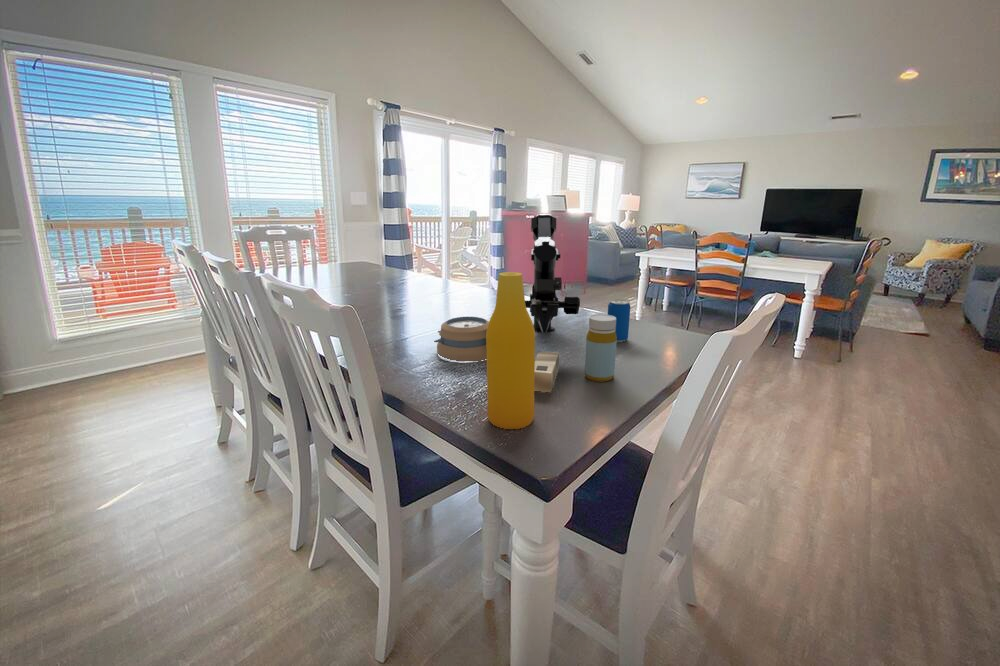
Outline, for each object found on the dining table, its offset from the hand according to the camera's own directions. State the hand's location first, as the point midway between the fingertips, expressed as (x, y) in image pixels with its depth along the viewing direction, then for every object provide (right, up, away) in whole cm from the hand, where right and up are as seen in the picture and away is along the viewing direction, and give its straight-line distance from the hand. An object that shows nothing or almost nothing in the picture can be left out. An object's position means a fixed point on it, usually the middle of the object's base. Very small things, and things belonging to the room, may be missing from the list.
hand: (544, 332), depth 118 cm
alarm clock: (-18, -6, +8) cm, 21 cm away
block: (+1, -7, -5) cm, 9 cm away
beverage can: (+24, -2, +18) cm, 30 cm away
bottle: (+12, -11, -9) cm, 19 cm away
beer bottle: (-10, -17, -30) cm, 36 cm away
